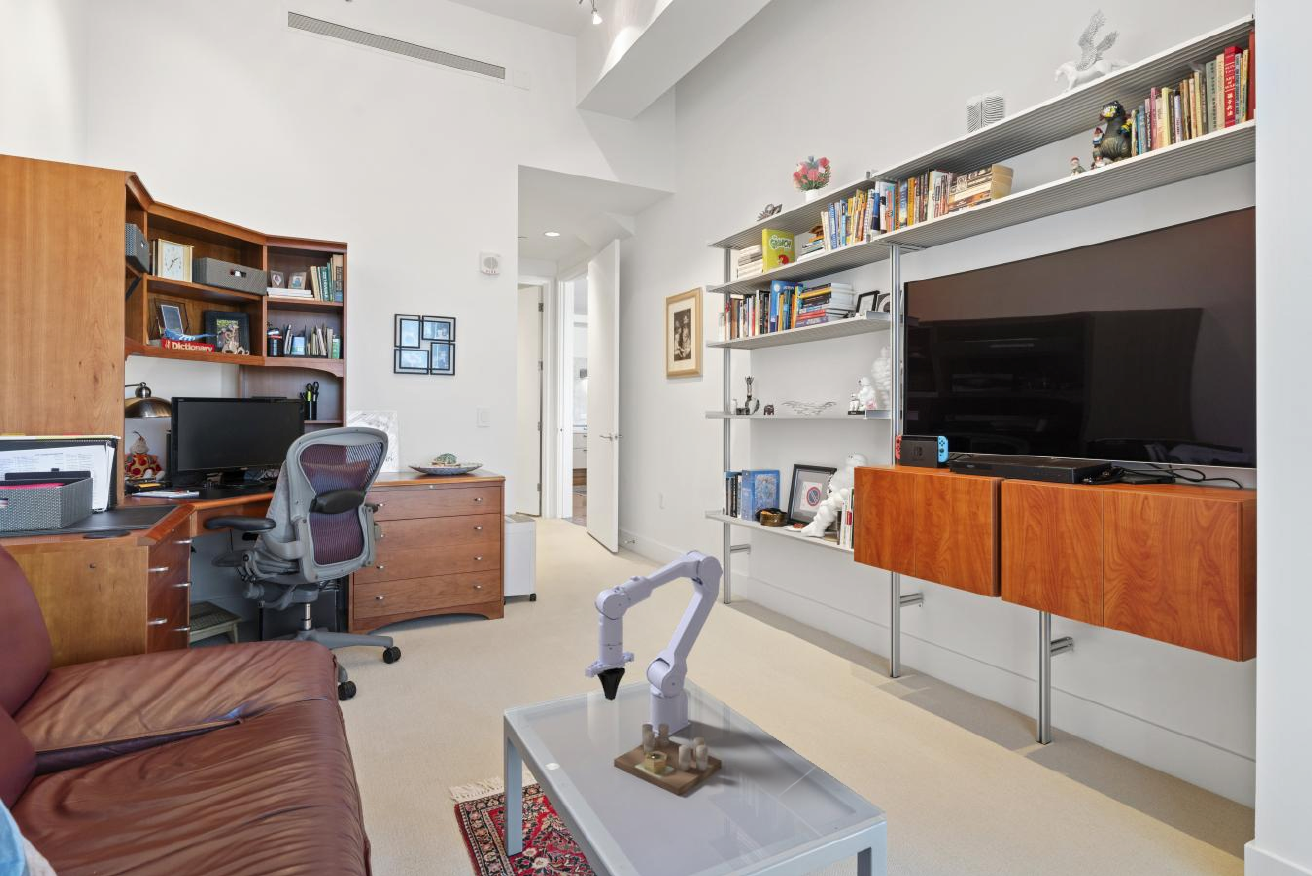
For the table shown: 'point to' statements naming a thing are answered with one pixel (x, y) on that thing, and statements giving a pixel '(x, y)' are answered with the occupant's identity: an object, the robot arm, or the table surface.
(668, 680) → the robot arm
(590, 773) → the table surface
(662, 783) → the board
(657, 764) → the nut
